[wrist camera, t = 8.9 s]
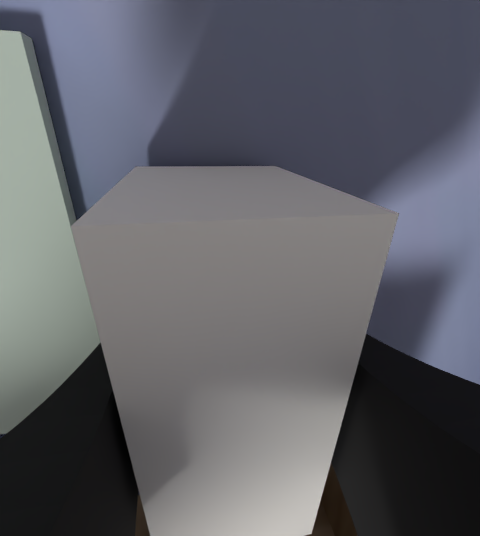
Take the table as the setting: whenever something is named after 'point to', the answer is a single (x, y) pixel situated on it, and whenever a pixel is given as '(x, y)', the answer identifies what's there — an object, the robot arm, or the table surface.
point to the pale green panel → (35, 246)
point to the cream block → (231, 336)
